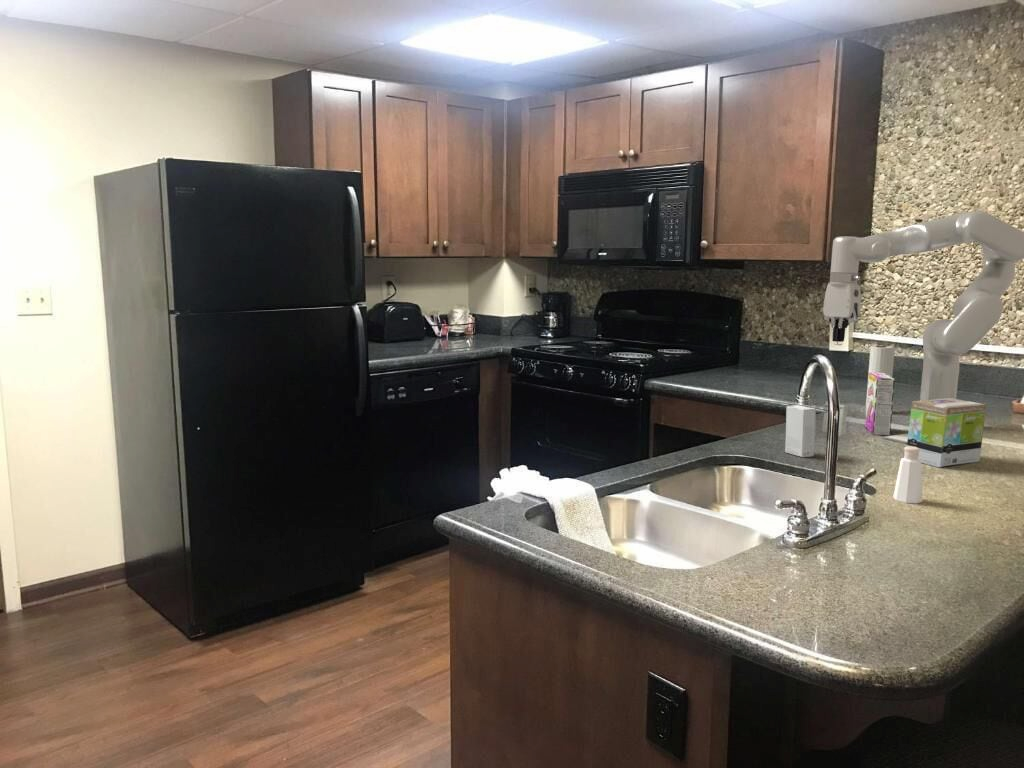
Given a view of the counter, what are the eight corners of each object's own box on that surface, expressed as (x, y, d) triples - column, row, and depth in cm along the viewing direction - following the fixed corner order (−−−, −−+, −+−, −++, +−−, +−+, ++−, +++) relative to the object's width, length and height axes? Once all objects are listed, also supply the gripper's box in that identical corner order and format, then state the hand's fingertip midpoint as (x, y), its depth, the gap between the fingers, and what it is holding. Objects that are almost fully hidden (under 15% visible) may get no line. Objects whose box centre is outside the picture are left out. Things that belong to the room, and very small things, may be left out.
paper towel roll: (865, 412, 263) (870, 346, 259) (865, 409, 268) (870, 344, 265) (890, 414, 260) (895, 347, 257) (889, 411, 266) (894, 346, 262)
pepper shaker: (920, 505, 164) (925, 451, 162) (891, 500, 167) (895, 448, 165) (923, 498, 169) (928, 446, 167) (894, 494, 171) (899, 443, 170)
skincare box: (814, 456, 204) (818, 408, 202) (801, 458, 202) (804, 409, 200) (796, 450, 209) (799, 404, 208) (783, 452, 208) (786, 405, 206)
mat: (911, 434, 231) (912, 432, 231) (966, 445, 218) (966, 443, 218) (881, 438, 225) (882, 436, 225) (936, 450, 211) (936, 448, 211)
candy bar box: (863, 427, 240) (867, 372, 237) (881, 428, 239) (886, 372, 236) (871, 435, 229) (876, 377, 226) (891, 436, 228) (895, 378, 225)
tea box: (941, 468, 193) (947, 407, 191) (904, 459, 202) (909, 400, 200) (981, 462, 200) (987, 402, 198) (943, 453, 209) (949, 396, 207)
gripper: (874, 280, 236) (868, 343, 238) (831, 278, 248) (826, 338, 251) (856, 280, 232) (850, 344, 235) (814, 278, 245) (809, 339, 248)
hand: (838, 341), depth 243 cm, fingers closed
